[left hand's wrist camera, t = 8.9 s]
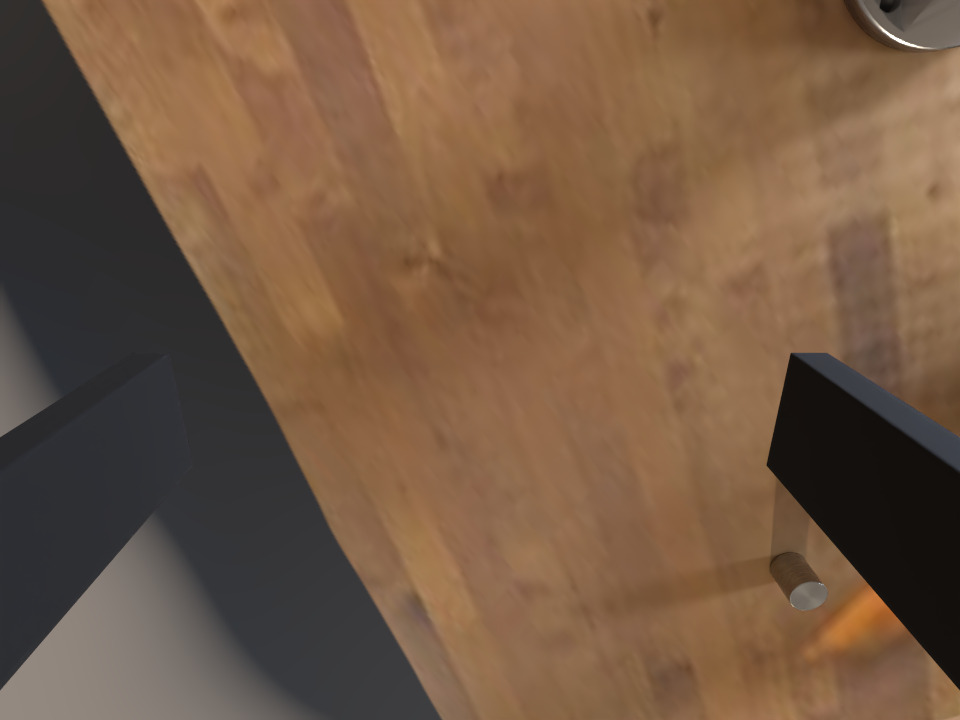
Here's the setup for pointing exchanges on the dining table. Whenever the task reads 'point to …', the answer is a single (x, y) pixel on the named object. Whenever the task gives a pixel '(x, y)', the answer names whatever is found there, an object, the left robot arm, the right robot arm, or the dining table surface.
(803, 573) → the tin
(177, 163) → the dining table surface
